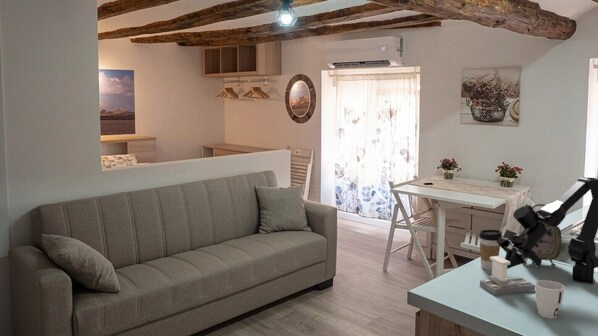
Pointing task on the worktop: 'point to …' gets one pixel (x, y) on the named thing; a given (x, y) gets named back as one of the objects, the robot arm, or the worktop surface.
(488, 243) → the coffee cup
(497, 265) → the plate
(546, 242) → the tabletop clock
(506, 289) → the fader console
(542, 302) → the cup
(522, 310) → the worktop surface
